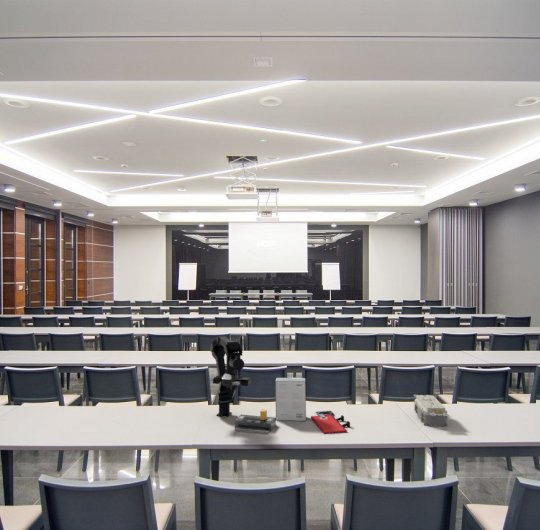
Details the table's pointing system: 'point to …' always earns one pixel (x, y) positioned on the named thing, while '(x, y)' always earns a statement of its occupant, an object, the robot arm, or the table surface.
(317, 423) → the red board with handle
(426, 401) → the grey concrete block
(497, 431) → the table surface
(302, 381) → the hard drive box
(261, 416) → the lever
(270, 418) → the strip
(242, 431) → the dark grey thin bar
